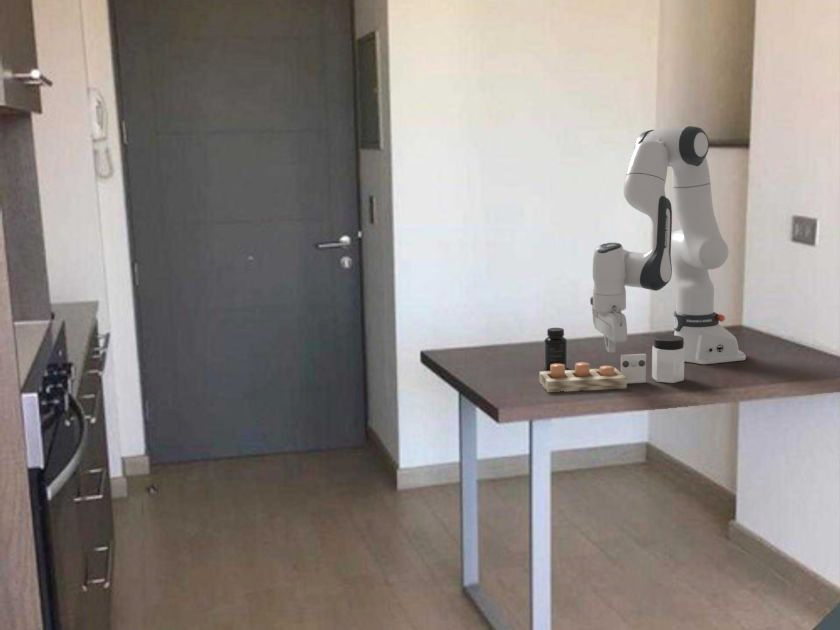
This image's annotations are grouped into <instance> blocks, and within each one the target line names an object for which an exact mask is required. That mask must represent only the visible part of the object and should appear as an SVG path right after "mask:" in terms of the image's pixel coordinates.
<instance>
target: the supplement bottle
mask: <svg viewBox="0 0 840 630" xmlns="http://www.w3.org/2000/svg"><path fill="white" fill-rule="evenodd" d="M564 330H565V329H564V328H562V327H549V328H547V331H546V332H547V334H546V336H547V337H546V338H545V339H544V341H543V349H544V350H543V351H544V352H543V354H544V355H543V356H544V357H543V358H544V359H543V360H544V361H543V362H544V363H543V365H544V368H545V370H546V371H550V365H551V364H564V365H565V370H567V368H568V340H567V338H566V337H564V336H565V331H564Z"/></svg>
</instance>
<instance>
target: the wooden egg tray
mask: <svg viewBox="0 0 840 630" xmlns="http://www.w3.org/2000/svg"><path fill="white" fill-rule="evenodd" d="M538 373H539V374H538V380H539V381H538V382H539V384H540V385H541V384H542V385H541V386H542V387H543V388H544V390H545V389H546V390H547V391H546V390H545V391H546V392H547V393H560V391H561V392H562V391H564V392H579V391H580V390H583V391H601V390H621V389H627V388H628V383H627V377H625V376H624V375H623V374H622V373H621V370H619V369H617V368H616V367H614V375H612V376H600V368H590V375H589V376H576V375H575V369H565V377H561V378H554V377H551V376H550V370H545V371H543V370H542V371H539V372H538ZM580 392H581V391H580Z"/></svg>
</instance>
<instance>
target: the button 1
mask: <svg viewBox="0 0 840 630" xmlns="http://www.w3.org/2000/svg"><path fill="white" fill-rule="evenodd" d="M565 370H566V369H565V365H564V364H551V365H550V370H549V371H550V376H551V377H554V378H561V377H565Z"/></svg>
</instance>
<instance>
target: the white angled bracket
mask: <svg viewBox="0 0 840 630" xmlns="http://www.w3.org/2000/svg"><path fill="white" fill-rule="evenodd" d="M620 372H621V373H622V374H623V375H624V376H625V377H627V384H642V383H647V380H646V379H647V377H646V376H647V374H646V373H647V354H646V353H636V354H632V353H631V354H620Z"/></svg>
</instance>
